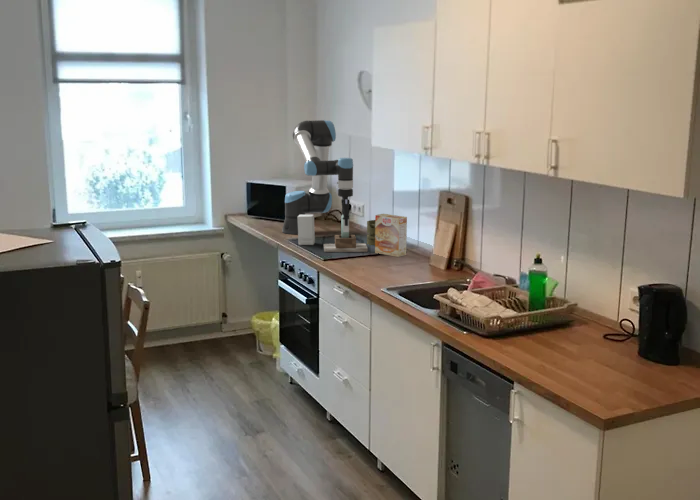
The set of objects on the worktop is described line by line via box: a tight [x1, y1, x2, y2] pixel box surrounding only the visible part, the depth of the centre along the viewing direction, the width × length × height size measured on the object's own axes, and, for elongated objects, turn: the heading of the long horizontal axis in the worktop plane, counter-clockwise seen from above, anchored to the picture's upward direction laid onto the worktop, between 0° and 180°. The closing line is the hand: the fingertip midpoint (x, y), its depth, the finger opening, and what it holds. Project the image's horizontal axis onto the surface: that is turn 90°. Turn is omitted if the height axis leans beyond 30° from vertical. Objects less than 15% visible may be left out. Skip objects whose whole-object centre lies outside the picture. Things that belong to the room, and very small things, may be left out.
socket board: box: [323, 234, 369, 253], centre depth 392 cm, size 14×22×6 cm, turn 94°
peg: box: [340, 214, 350, 238], centre depth 391 cm, size 4×4×16 cm
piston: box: [366, 219, 375, 246], centre depth 405 cm, size 11×12×11 cm
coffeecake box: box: [374, 213, 408, 258], centre depth 380 cm, size 15×7×20 cm, turn 50°
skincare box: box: [297, 214, 316, 246], centre depth 404 cm, size 8×7×16 cm
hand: (345, 229), depth 391 cm, fingers open, 13 cm apart
